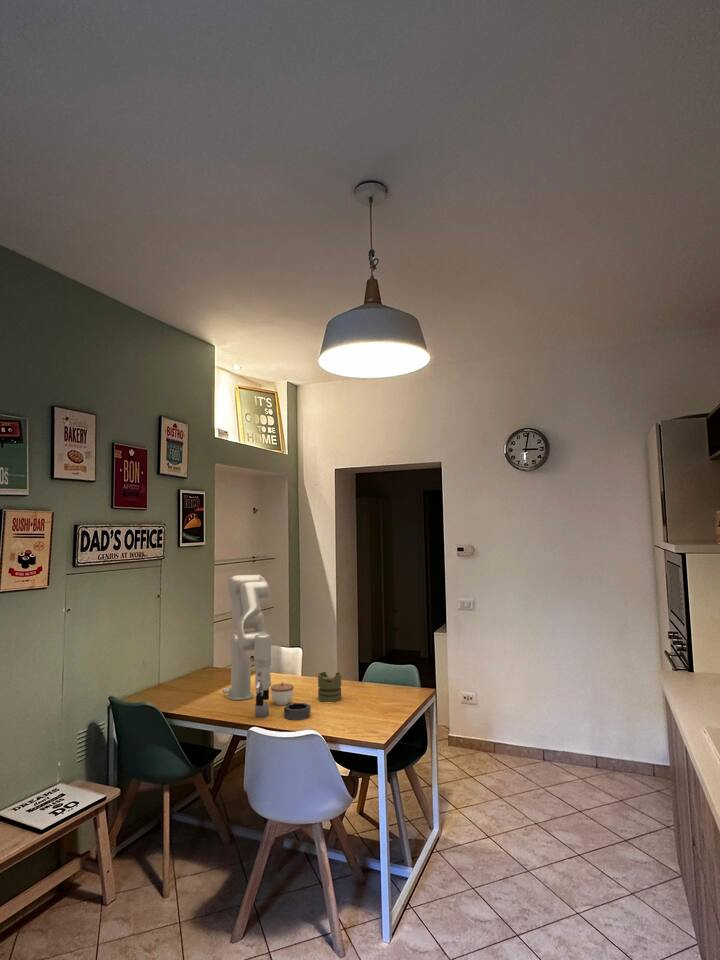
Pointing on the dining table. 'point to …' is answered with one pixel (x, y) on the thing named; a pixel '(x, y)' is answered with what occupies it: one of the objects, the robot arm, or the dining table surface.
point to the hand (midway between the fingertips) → (262, 702)
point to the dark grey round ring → (297, 711)
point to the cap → (262, 710)
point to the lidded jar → (282, 693)
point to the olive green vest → (329, 687)
